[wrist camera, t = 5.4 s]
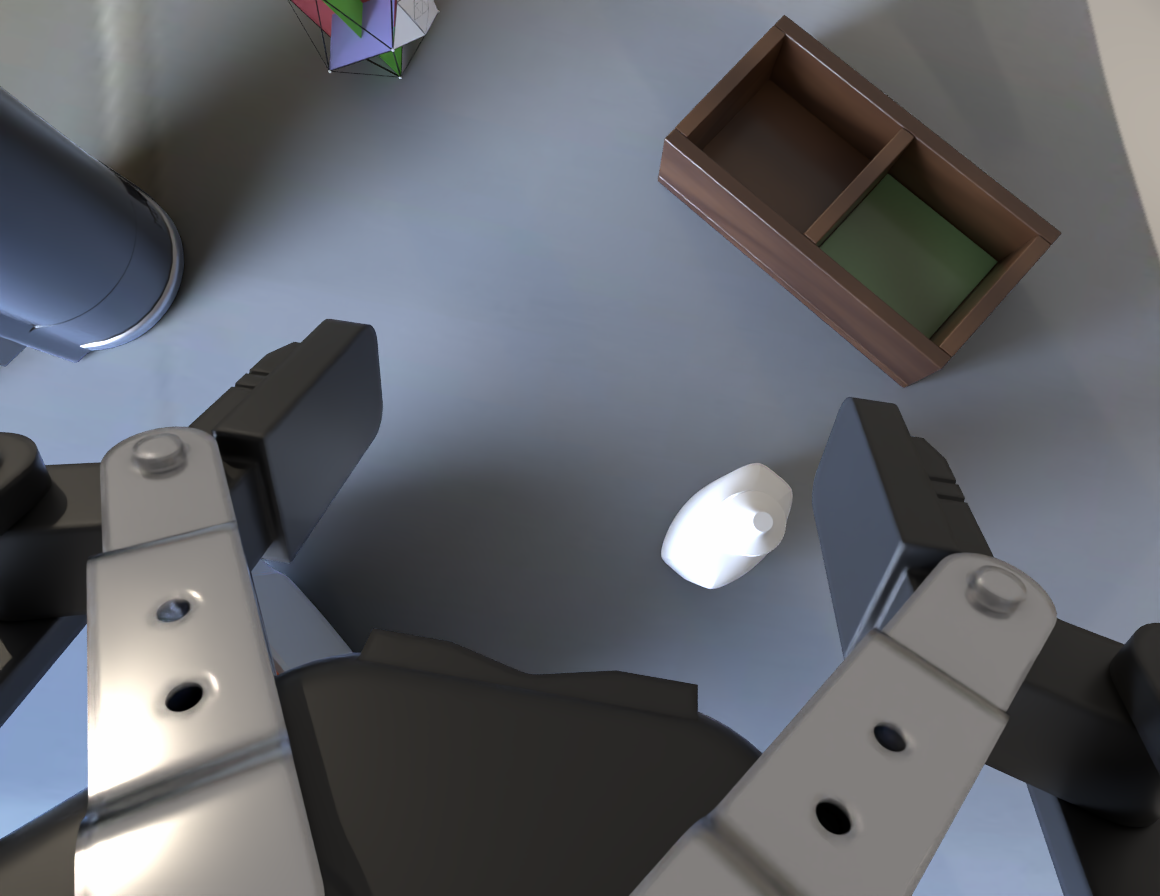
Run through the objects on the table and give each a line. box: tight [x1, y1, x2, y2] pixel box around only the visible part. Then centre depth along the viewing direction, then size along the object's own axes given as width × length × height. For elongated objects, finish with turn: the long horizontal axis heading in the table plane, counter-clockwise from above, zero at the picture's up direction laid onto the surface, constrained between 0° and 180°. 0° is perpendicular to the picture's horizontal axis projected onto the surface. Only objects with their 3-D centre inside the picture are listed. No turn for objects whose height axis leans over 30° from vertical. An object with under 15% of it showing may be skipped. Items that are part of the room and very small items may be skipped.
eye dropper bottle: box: [661, 463, 793, 589], centre depth 30 cm, size 4×6×12 cm
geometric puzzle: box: [288, 0, 440, 79], centre depth 37 cm, size 7×7×8 cm
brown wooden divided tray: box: [658, 15, 1061, 388], centre depth 36 cm, size 9×17×4 cm, turn 47°
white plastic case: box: [251, 559, 353, 675], centre depth 32 cm, size 14×3×8 cm, turn 42°
